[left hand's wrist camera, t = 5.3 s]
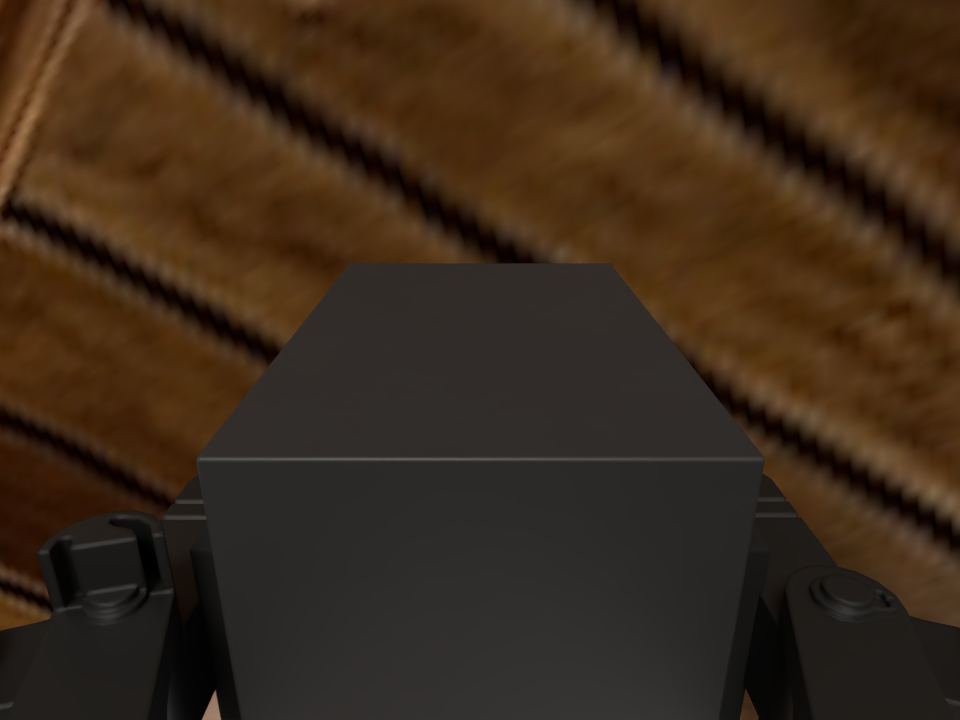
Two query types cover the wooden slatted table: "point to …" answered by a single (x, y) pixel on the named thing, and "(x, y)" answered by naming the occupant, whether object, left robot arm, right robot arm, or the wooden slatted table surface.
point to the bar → (480, 506)
